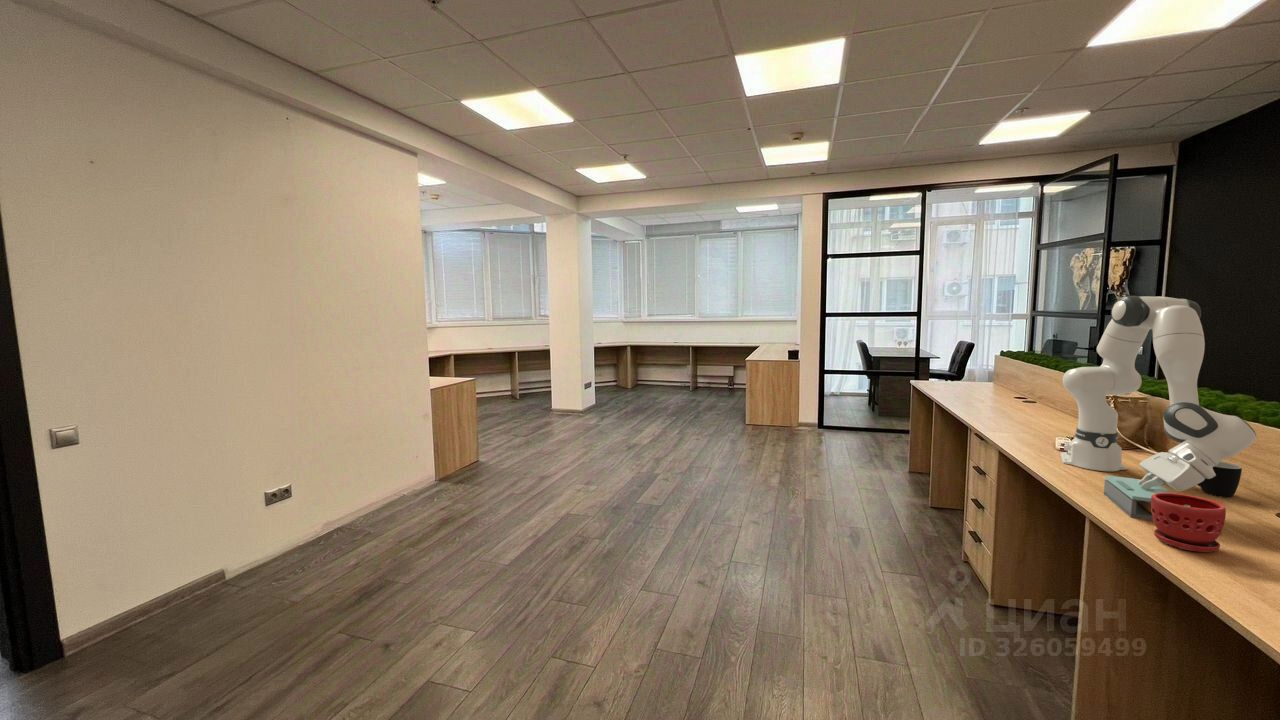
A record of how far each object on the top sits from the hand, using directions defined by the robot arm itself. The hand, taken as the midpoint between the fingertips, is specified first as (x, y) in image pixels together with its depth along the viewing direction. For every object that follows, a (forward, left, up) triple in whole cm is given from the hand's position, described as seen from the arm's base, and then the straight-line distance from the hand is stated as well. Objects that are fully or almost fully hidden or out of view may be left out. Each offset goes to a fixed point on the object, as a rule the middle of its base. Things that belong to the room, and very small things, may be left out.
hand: (1141, 486), depth 152 cm
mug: (-26, +27, -7) cm, 38 cm away
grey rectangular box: (0, +1, -7) cm, 7 cm away
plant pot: (+26, 0, -7) cm, 27 cm away
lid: (0, +1, -2) cm, 2 cm away
